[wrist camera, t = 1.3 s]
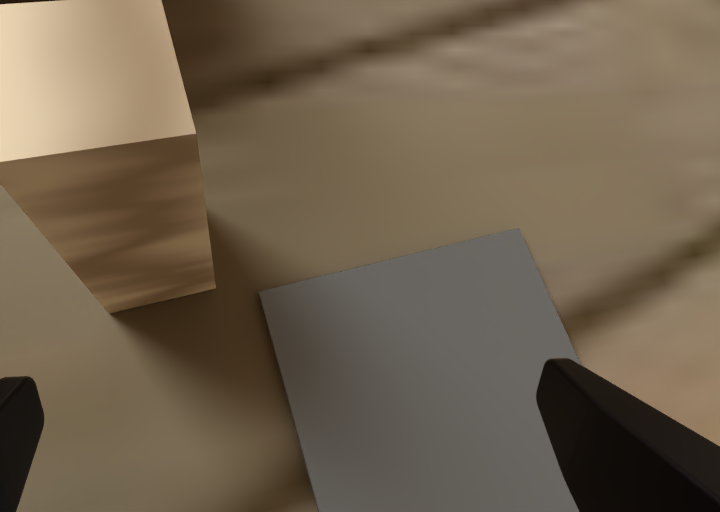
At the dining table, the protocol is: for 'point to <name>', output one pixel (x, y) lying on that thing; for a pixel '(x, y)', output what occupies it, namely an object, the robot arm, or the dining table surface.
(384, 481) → the rubber mat
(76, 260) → the birch block
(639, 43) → the dining table surface
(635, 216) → the dining table surface
